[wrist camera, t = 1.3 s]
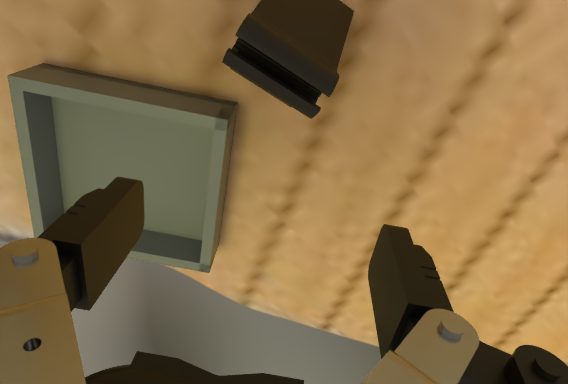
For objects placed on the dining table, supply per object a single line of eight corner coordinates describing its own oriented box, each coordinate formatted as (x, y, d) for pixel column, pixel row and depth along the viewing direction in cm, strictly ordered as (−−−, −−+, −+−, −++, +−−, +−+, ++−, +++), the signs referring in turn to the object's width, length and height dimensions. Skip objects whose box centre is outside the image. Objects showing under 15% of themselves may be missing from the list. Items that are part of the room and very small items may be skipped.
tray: (61, 215, 41) (35, 240, 37) (43, 63, 33) (7, 75, 29) (218, 245, 42) (209, 272, 38) (237, 103, 34) (228, 120, 30)
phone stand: (290, 105, 34) (281, 164, 23) (230, 67, 33) (193, 111, 22) (353, 10, 30) (377, 31, 19) (289, -38, 29) (276, -44, 18)
